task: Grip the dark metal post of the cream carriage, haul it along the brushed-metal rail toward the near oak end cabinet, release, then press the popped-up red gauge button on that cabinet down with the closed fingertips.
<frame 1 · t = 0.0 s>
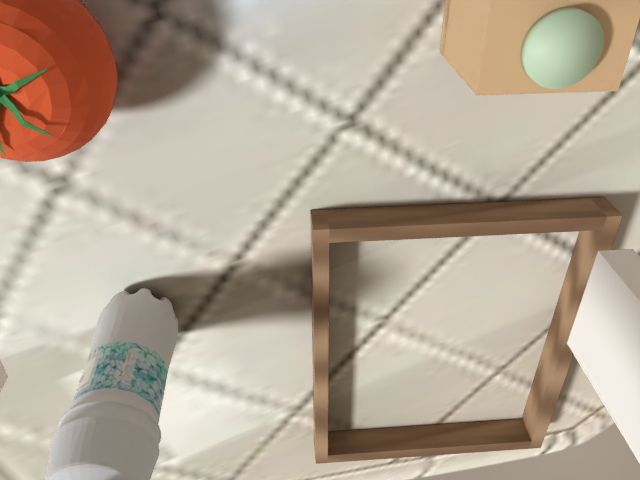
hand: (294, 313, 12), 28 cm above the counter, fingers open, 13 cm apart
wooden frame: (438, 335, 53), on the counter
tomato: (48, 45, 36), on the counter
bottle: (143, 308, 48), on the counter
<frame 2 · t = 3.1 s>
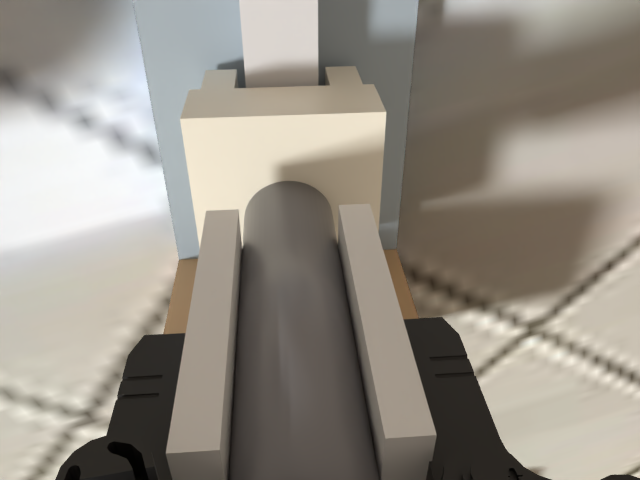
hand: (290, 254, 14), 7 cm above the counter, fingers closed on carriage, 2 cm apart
carriage: (293, 294, 13), point 8 cm above the counter, slide at 0.0 cm, touching gripper
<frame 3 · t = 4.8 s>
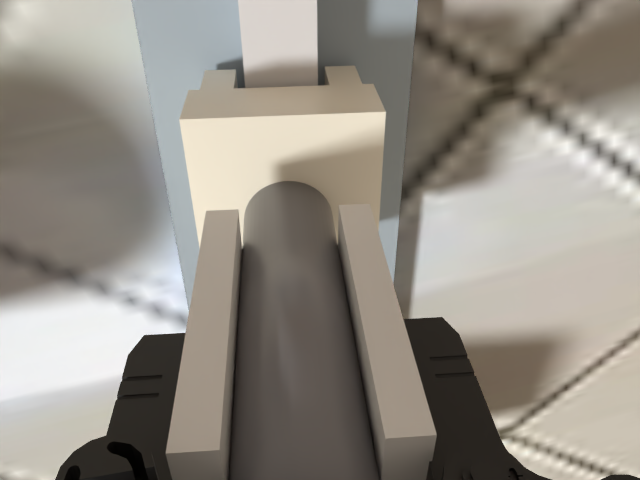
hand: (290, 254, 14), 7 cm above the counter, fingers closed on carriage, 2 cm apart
rail: (284, 160, 20), on the counter
carriage: (292, 294, 13), point 8 cm above the counter, slide at 7.7 cm, touching gripper
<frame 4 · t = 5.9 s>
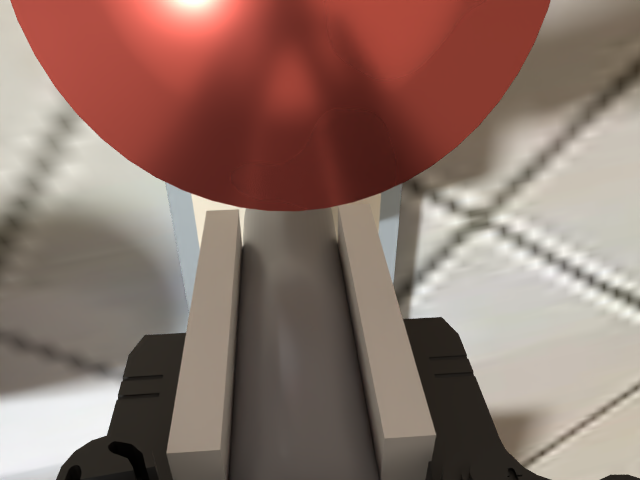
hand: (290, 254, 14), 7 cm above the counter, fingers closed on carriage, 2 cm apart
rail: (289, 278, 23), on the counter
carriage: (293, 294, 13), point 8 cm above the counter, slide at 12.9 cm, touching gripper
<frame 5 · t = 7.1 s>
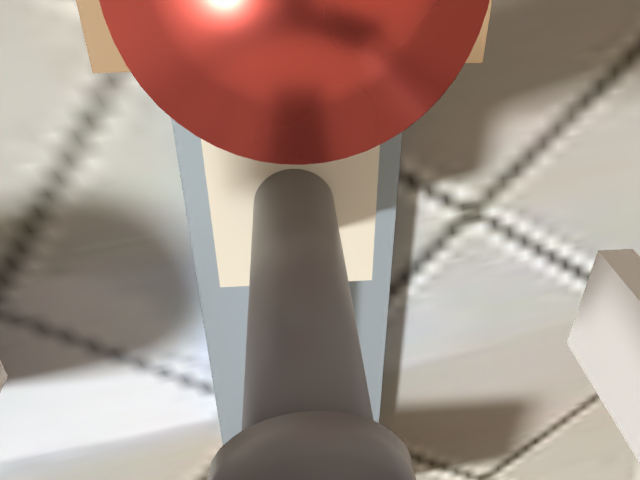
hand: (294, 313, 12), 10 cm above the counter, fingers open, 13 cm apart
rail: (294, 267, 24), on the counter
carriage: (297, 267, 14), point 8 cm above the counter, slide at 12.9 cm
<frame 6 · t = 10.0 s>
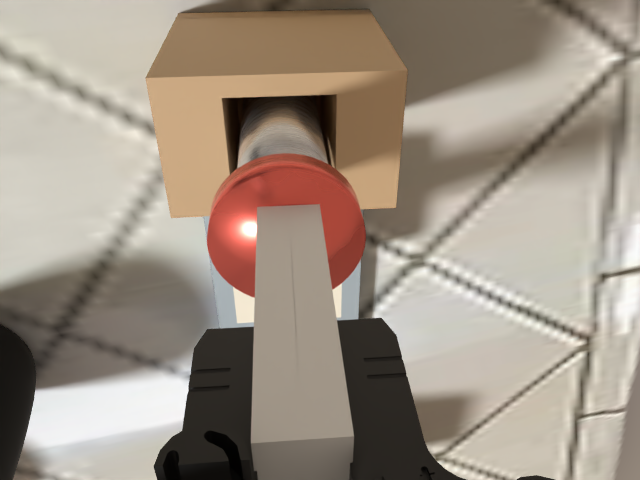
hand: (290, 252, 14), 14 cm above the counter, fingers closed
rail: (288, 300, 33), on the counter
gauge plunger: (282, 161, 18), point 9 cm above the counter, slide at 0.1 cm, touching gripper
carriage: (289, 318, 23), point 8 cm above the counter, slide at 12.9 cm
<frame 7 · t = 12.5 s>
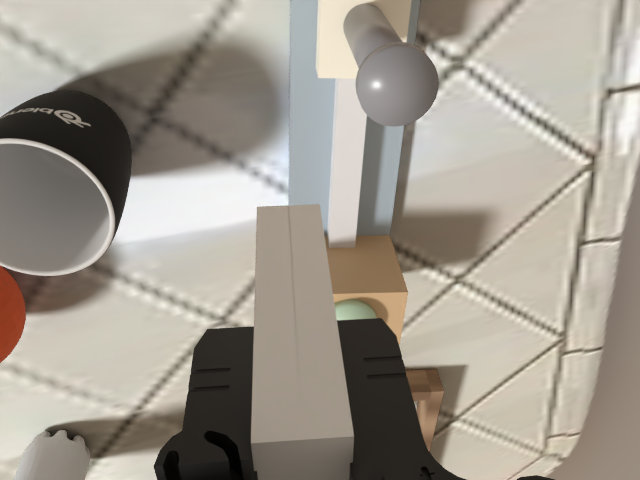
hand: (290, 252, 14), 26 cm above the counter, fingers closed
mug: (58, 134, 39), on the counter
wooden frame: (313, 460, 63), on the counter
rail: (347, 96, 39), on the counter
bottle: (62, 441, 58), on the counter
carriage: (373, 42, 29), point 8 cm above the counter, slide at 12.9 cm
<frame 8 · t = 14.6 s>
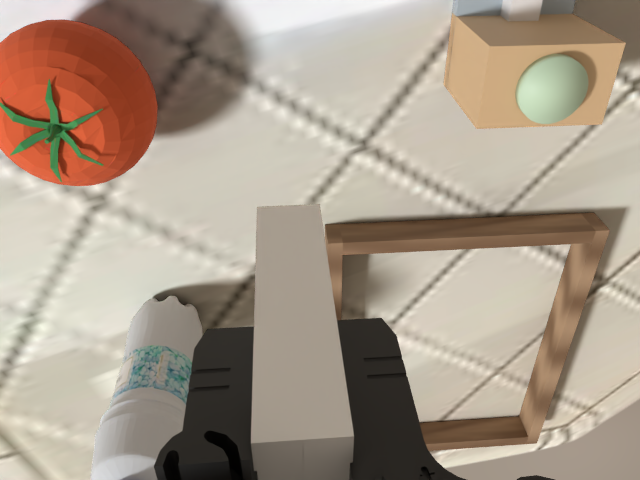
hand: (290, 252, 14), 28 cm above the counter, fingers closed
wooden frame: (441, 338, 57), on the counter
tomato: (92, 79, 40), on the counter
bottle: (170, 314, 52), on the counter
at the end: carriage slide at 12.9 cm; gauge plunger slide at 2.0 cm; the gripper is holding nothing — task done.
